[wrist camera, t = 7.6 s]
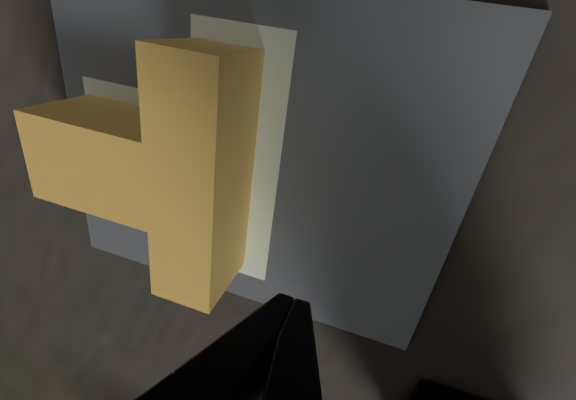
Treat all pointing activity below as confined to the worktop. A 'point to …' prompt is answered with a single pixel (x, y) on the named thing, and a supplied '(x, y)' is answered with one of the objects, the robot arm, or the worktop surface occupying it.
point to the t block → (161, 160)
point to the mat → (335, 135)
